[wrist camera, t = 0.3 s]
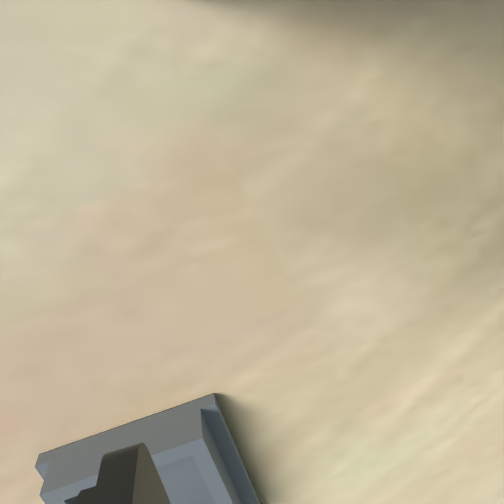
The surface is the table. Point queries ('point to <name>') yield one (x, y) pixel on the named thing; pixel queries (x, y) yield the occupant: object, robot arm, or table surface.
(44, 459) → the tester dock
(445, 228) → the table surface
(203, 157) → the table surface
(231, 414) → the table surface
